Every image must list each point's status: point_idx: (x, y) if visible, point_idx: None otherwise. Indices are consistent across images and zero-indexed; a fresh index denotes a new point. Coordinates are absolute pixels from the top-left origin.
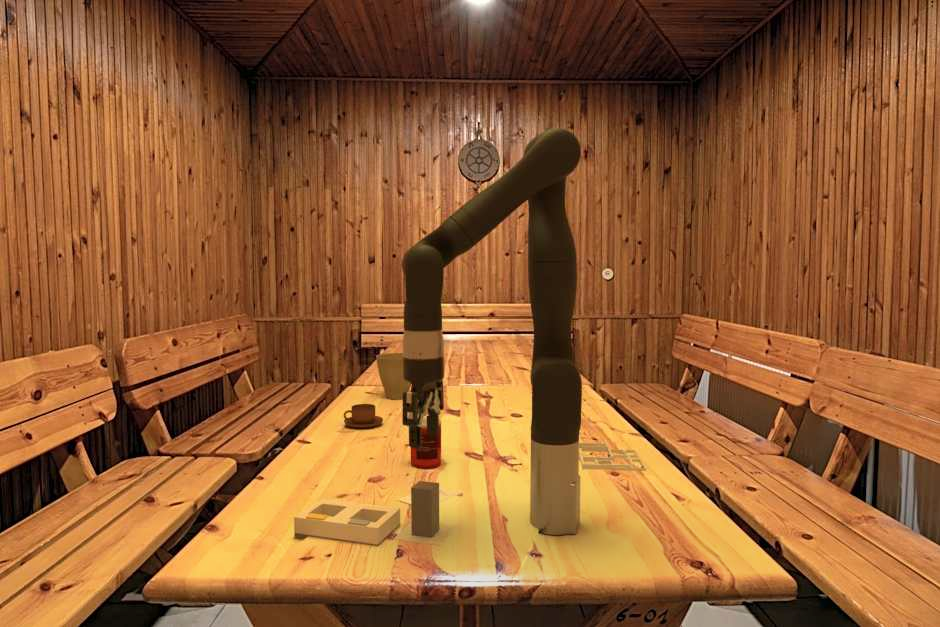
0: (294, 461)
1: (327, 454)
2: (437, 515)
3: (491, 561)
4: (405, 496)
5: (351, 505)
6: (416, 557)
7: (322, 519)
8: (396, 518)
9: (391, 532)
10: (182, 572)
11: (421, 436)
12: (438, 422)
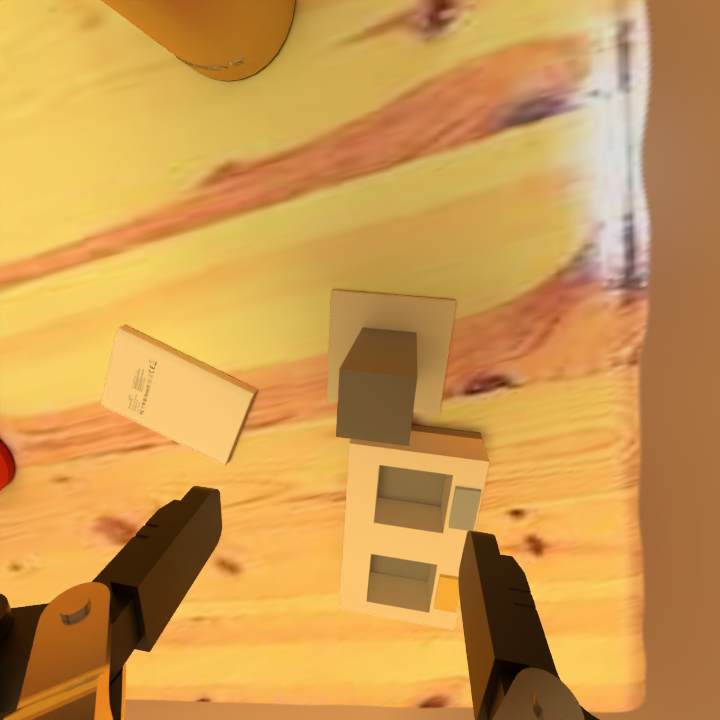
0: None
1: None
2: (371, 339)
3: (505, 142)
4: (198, 452)
5: (361, 547)
6: (505, 342)
7: None
8: None
9: None
10: (611, 692)
11: (482, 582)
12: (149, 541)
